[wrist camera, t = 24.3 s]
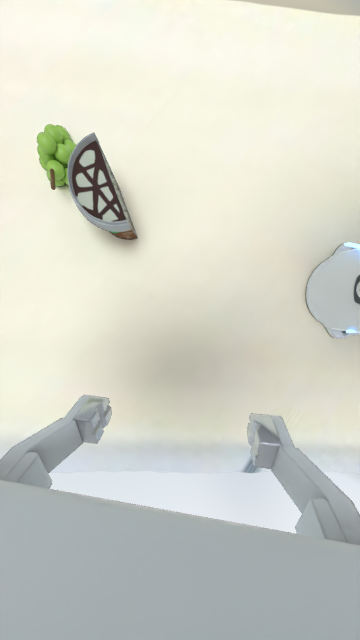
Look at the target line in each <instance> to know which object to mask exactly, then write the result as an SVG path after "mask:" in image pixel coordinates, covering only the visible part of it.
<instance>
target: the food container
mask: <svg viewBox="0 0 360 640" xmlns="http://www.w3.org/2000/svg"><path fill="white" fill-rule="evenodd" d="M67 177H68V184H69V189H70V192H71V195H72V197H73V199H74V201H75V203H76V205H77V207H78V209H79V210H80V212H81V213H82V214H83V216H84V217H85V218H86V219H87V220H88V221H90V222H91V223H92V224H94V225H95V226H97V227H99V228H101V229H104V230H107V231H109V232H110V233H112V234H113V235H115V236H116V237H118V238H121V239H129V240H130V239H135V238H138V237H137V235H136V232H135V229H134V227H133V224H132V221H131V218H130V216H129V213H128V210H127V208H126V205H125V202H124V199H123V197H122V194H121V191H120V189H119V186H118V184H117V182H116V180H115V177H114V175H113V173H112V171H111V169H110V166H109V164H108V162H107V160H106V158H105V155H104V153H103V151H102V149H101V146H100V144H99V141H98V139H97V137H96V135H95V133H92V134H89V135H88V136H86V137H85V138H83V139H82V140H81V141H80V142H79V143H78V144H77V145H76V147H75V148H74V150H73V152H72V154H71V156H70V159H69V162H68V169H67Z"/></svg>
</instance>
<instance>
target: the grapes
mask: <svg viewBox="0 0 360 640" xmlns="http://www.w3.org/2000/svg"><path fill="white" fill-rule="evenodd" d="M37 143H38V148H37V150H38V154H39V156H40V157H39V161H40V164H41V166H42V167H43V168H44V169H45V170H46V171H47V177H48V179H49V180H50V182H51V188H52V189H53V190H55V185H56V186H62V185H64V183H66V184H67V185H69V184H68V177H67V169H68V162H69V159H70V156H71V154H72V152H73V150H74V148H75V147H76V145H75V143H74V142H73V141H71V140H70V136H69V134H68V132H67V130H66V129H65V128H63V127H62V126H59V125H56V126H54V125H51V124H49V125H47V126H46V127H45V129H44V132H42V133H39V134H38V136H37Z"/></svg>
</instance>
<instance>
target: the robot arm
mask: <svg viewBox="0 0 360 640" xmlns="http://www.w3.org/2000/svg"><path fill="white" fill-rule="evenodd" d="M306 300H307V305H308V308H309V310H310V312H311V314H312V315H313V316H314V317H315V318H316V319H317V320H318V321H319V322H320V323H322V324H323V325H324V326H325V327H326V329H327V331H328V333H329V334H330V335H331V336H332V337H334V338H342V337H347V336H353V335H358V334H360V245H359V244H354V243H349V242H348V243H345V244H342V245H340V246H339V247H338V248H337V250H336V251H335V252H334V254H333V255H332V256H331V257H330V258H328V259H327V260H325V261H324V262H322V263H321V264H320V265H319V266H318V267H317V268H316V269H315V270H314V272H313V273H312V275H311V277H310V279H309V281H308V284H307V289H306ZM342 331H343V332H342ZM109 403H110V401H109V398H106V397H99V396H91V395H83V396H81V397H80V399H79V400H78V401H77V402H76V404H75V405H74V406H73V407H72V409H71V410H70V411H69V412H68V414H67V415H66V416H65V417H64V418H61V419H59V420H57V421H56V422H54V423H52V424H51V425H49V426H47V427H46V428H44V429H42V430H41V431H39V432H37V433H36V434H34V435H32V436H31V437H29V438H27V439H26V440H24V441H22V442H21V443H19V444H17V445H15V446H14V447H12V448H11V449H10V450H9V451H8V452H7V453H6V454H5V455H4V457H3V458H2V459H1V460H0V640H360V514H359V512H358V511H357V509H356V508H355V505H354V503H353V502H352V501H351V500H350V499H349V498H348V497H347V496H346V495H345V494H344V493H343V492H342V491H341V490H340V489H339V488H338V487H337V486H336V485H335V484H334V483H333V482H332V481H331V480H330V479H329V478H328V477H327V476H326V475H325V474H324V473H323V472H322V471H321V470H320V469H319V468H318V467H317V466H316V465H315V464H314V463H313V462H312V461H311V460H310V459H309V458H308V457H306V456H305V455H304V454H303V453H302V452H301V451H300V450H299V449H298V448H295V447H294V444H293V442H292V440H291V437H290V435H289V433H288V430H287V428H286V426H285V423H284V421H283V418H282V417H281V416H274V415H266V414H255V413H251V414H250V417H249V419H250V423H248V427H247V436H248V442H249V444H250V445H251V446H252V448H251V457H252V461H253V466H256V467H261V468H267V469H272V472H273V473H274V475H275V476H276V477H277V479H278V480H279V482H280V483H281V485H282V486H283V487H284V489H285V490H286V492H287V493H288V495H289V496H290V497H291V499H292V500H293V501H294V503H295V504H296V506H297V507H298V508H299V510H300V512H301V513H302V515H301V517H300V519H299V521H298V522H297V525H296V526H295V529H296V532H297V534H295V533H290V532H284V531H279V530H273V529H268V528H262V527H257V526H251V525H246V524H240V523H235V522H229V521H224V520H218V519H213V518H207V517H202V516H196V515H191V514H185V513H179V512H174V511H169V510H164V509H158V508H153V507H147V506H142V505H136V504H131V503H125V502H120V501H114V500H109V499H103V498H97V497H92V496H87V495H81V494H76V493H70V492H65V491H59V490H53V489H49V488H50V487H51V485H52V480H51V478H50V476H49V474H48V473H49V472H50V471H52V470H53V469H54V468H55V467H56V466H57V465H59V464H60V463H61V462H62V461H63V460H64V459H65V458H67V457H68V456H69V455H70V454H71V453H72V452H73V451H75V450H76V449H77V448H78V447H79V446H80V445H81V444H83V442H86V443H95V444H98V442H99V440H100V438H101V436H102V434H103V432H104V431H103V428H104V427H105V426H107V425H108V423H109V421H110V418H111V415H112V410H111V407H110V406H109V405H108V404H109Z"/></svg>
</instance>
